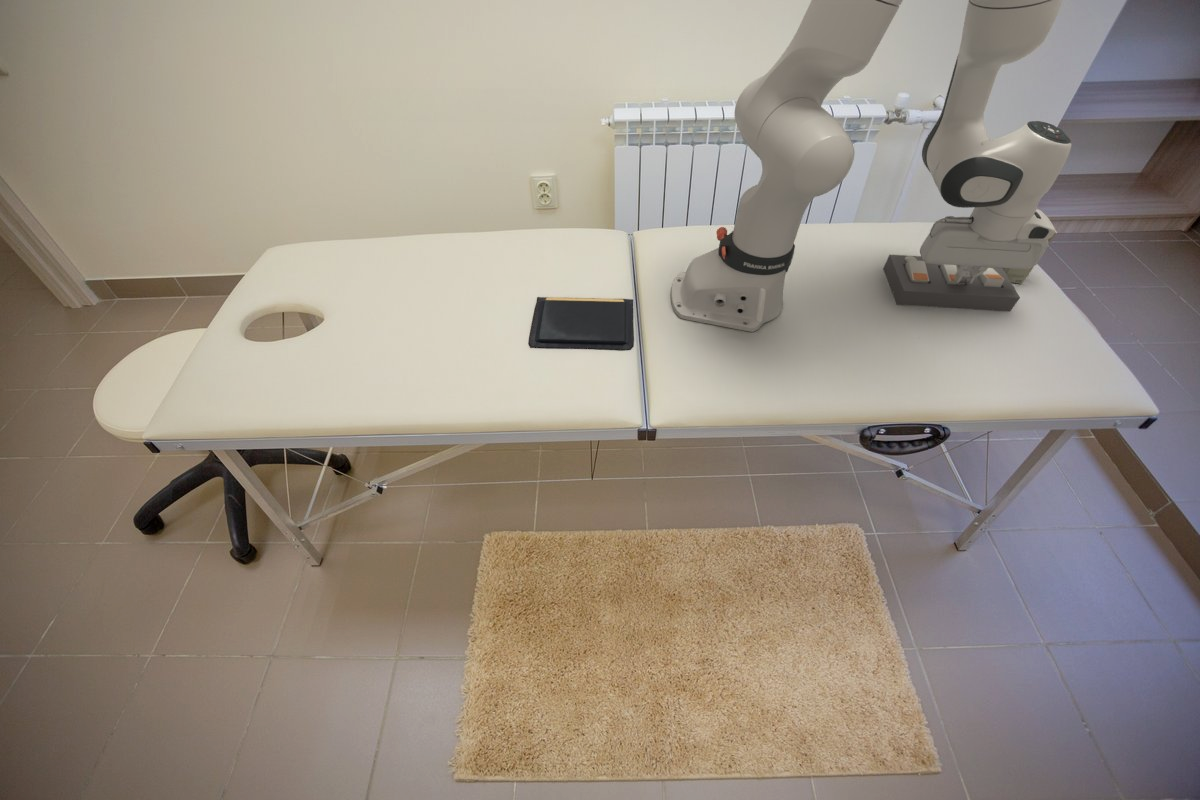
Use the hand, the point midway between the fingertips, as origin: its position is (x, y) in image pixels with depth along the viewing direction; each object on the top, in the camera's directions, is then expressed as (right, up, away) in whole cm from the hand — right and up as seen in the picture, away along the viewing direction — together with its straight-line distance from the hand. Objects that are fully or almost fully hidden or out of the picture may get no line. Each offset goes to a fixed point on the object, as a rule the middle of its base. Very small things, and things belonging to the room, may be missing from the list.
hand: (962, 281), depth 112 cm
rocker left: (-7, +2, +3) cm, 8 cm away
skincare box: (+15, +3, +9) cm, 18 cm away
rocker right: (+7, +1, +2) cm, 7 cm away
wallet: (-75, -9, -1) cm, 75 cm away
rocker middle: (0, +2, +3) cm, 3 cm away
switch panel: (0, -1, +5) cm, 5 cm away
